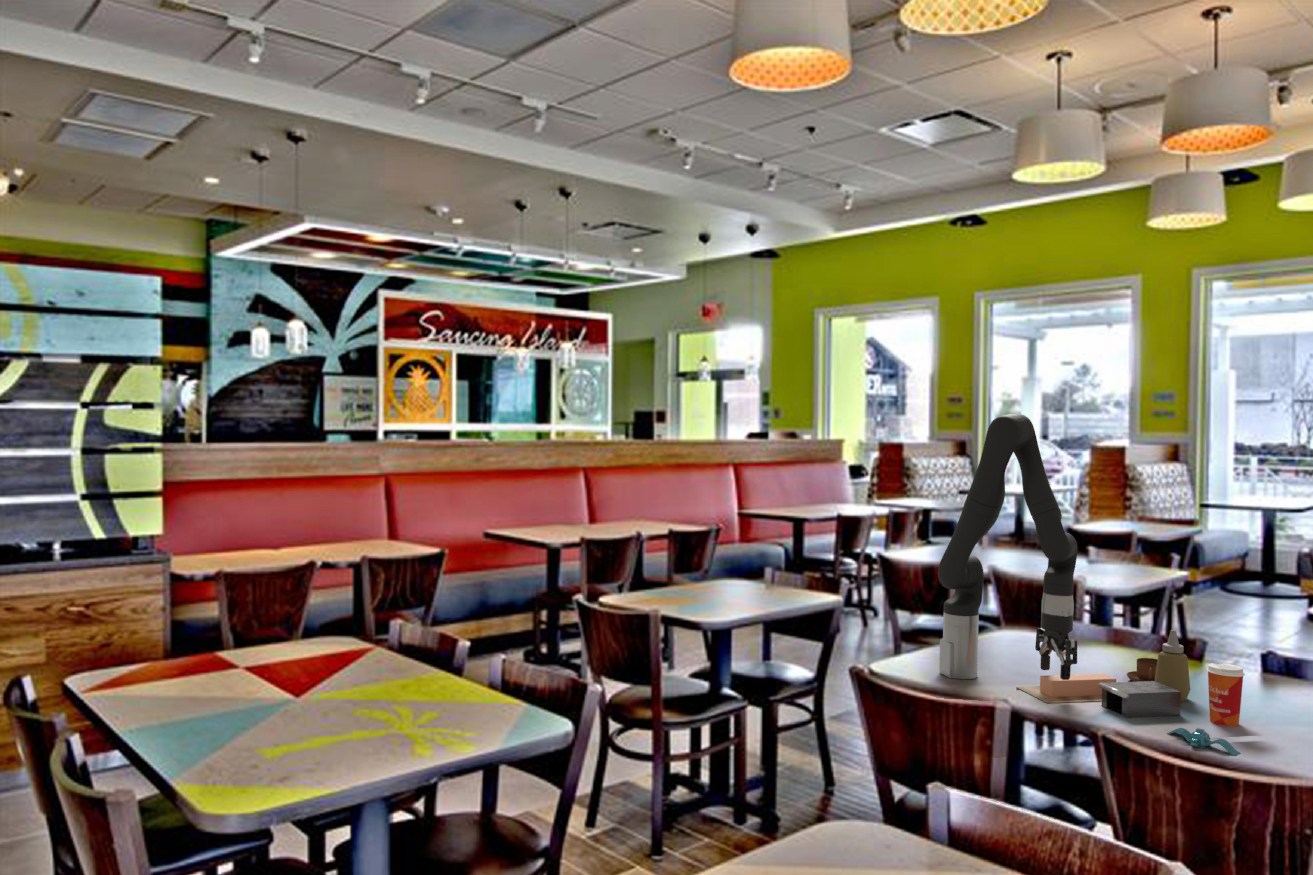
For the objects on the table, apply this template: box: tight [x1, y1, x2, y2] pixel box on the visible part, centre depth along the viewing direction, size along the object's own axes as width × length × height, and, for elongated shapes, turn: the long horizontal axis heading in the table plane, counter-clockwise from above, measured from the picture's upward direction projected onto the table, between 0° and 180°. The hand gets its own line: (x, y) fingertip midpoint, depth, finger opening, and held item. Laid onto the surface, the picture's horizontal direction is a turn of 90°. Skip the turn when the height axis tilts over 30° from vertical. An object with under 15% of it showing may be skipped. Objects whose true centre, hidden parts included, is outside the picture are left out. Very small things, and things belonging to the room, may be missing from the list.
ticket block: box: [1039, 673, 1117, 697], centre depth 244 cm, size 18×5×4 cm, turn 100°
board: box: [1015, 685, 1102, 704], centre depth 244 cm, size 26×14×1 cm, turn 100°
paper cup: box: [1205, 662, 1246, 727], centre depth 221 cm, size 8×8×14 cm
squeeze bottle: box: [1155, 629, 1191, 702], centre depth 241 cm, size 8×8×18 cm
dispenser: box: [1098, 681, 1182, 719], centre depth 230 cm, size 15×10×7 cm
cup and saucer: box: [1126, 657, 1158, 682], centre depth 259 cm, size 12×12×6 cm
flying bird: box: [1165, 727, 1241, 757], centre depth 208 cm, size 15×7×4 cm, turn 38°
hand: (1054, 674), depth 243 cm, fingers open, 8 cm apart
